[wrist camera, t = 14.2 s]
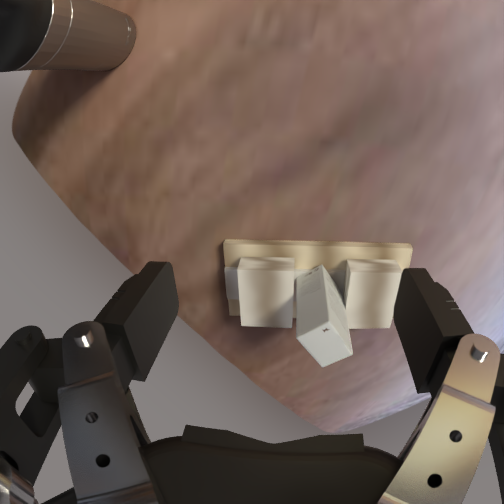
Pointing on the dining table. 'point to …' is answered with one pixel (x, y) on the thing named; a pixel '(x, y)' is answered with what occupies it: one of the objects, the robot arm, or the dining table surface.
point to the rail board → (302, 261)
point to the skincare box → (322, 317)
